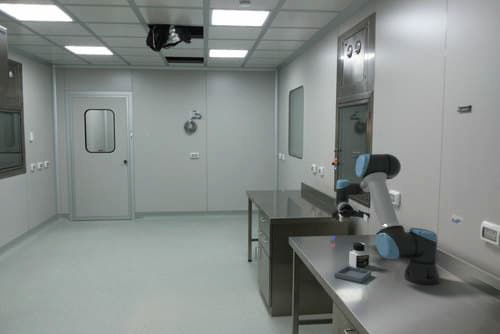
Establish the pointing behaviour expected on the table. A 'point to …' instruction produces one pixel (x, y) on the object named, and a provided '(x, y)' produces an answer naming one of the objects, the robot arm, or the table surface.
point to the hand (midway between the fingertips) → (354, 219)
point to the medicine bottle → (359, 256)
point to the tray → (353, 274)
